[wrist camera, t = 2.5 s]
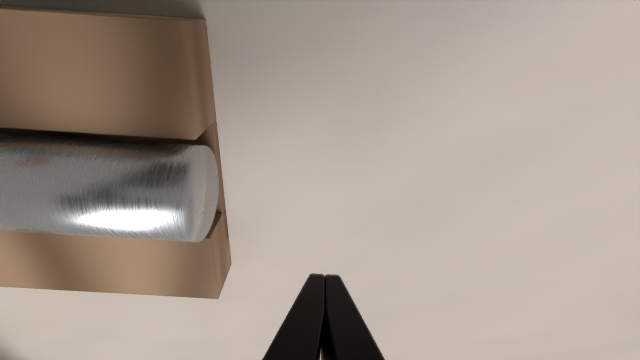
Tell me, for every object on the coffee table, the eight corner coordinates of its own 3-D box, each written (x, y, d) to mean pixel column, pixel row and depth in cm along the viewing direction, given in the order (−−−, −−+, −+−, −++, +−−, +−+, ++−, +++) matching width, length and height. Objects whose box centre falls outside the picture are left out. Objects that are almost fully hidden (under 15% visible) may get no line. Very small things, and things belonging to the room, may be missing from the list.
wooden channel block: (205, 19, 12) (178, 21, 10) (231, 264, 18) (218, 298, 16) (-165, -7, 12) (-277, -11, 9) (-10, 250, 18) (-57, 283, 16)
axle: (213, 131, 14) (174, 173, 10) (222, 206, 16) (191, 263, 12) (-109, 110, 13) (-263, 146, 10) (-60, 189, 15) (-173, 242, 12)
